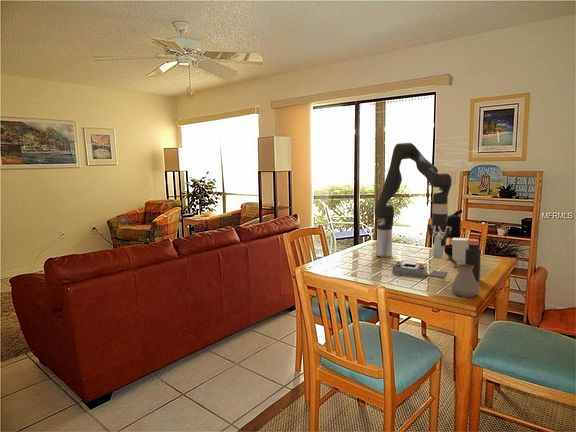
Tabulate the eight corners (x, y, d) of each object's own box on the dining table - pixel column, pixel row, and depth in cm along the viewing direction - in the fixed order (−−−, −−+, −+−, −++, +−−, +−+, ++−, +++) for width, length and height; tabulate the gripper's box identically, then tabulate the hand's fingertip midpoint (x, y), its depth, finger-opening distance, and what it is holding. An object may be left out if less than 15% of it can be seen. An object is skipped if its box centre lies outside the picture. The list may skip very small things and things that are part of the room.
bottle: (472, 281, 183) (474, 241, 180) (461, 278, 189) (462, 239, 187) (482, 279, 186) (484, 240, 183) (471, 276, 192) (472, 238, 189)
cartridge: (438, 259, 192) (439, 235, 191) (431, 257, 196) (432, 234, 194) (444, 258, 194) (445, 235, 193) (437, 256, 198) (438, 234, 197)
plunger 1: (393, 269, 203) (393, 260, 202) (395, 267, 207) (395, 258, 206) (401, 270, 201) (401, 261, 200) (403, 267, 204) (403, 259, 204)
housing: (392, 273, 201) (392, 266, 200) (397, 268, 209) (397, 261, 209) (423, 277, 193) (423, 269, 192) (427, 272, 201) (427, 265, 201)
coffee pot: (485, 297, 162) (486, 263, 160) (460, 299, 160) (461, 265, 158) (457, 282, 183) (458, 252, 181) (434, 284, 181) (435, 254, 179)
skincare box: (467, 264, 213) (468, 238, 211) (468, 267, 207) (469, 240, 205) (451, 263, 217) (452, 237, 215) (451, 266, 211) (452, 239, 209)
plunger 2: (416, 271, 197) (416, 262, 196) (417, 269, 201) (418, 260, 200) (425, 272, 195) (425, 263, 194) (426, 270, 198) (426, 261, 198)
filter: (456, 256, 234) (457, 208, 230) (464, 259, 225) (466, 210, 221) (435, 257, 232) (436, 209, 228) (443, 260, 223) (444, 211, 219)
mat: (429, 276, 194) (429, 275, 194) (432, 271, 202) (432, 270, 202) (444, 278, 190) (444, 277, 190) (446, 272, 199) (446, 272, 199)
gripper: (423, 211, 196) (422, 243, 199) (447, 214, 184) (446, 248, 186) (433, 210, 200) (432, 241, 202) (456, 213, 188) (455, 246, 190)
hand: (439, 244), depth 194 cm, fingers closed on cartridge, 4 cm apart
